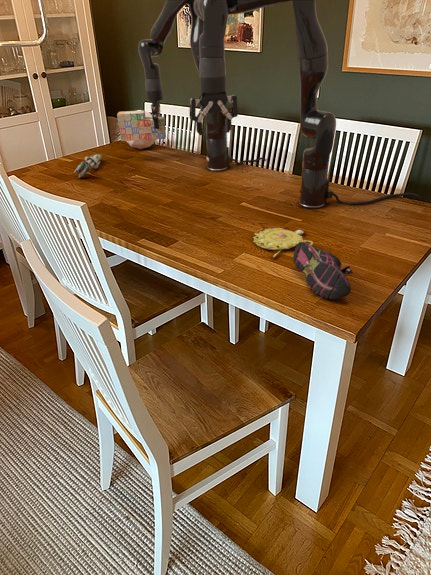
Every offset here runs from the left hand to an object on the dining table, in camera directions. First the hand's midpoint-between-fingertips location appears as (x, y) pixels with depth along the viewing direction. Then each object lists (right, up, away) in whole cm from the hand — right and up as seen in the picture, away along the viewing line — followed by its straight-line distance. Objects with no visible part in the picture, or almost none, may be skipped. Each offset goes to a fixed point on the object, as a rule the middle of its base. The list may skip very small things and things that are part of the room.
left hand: (157, 126), depth 211 cm
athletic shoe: (+58, -75, -91) cm, 131 cm away
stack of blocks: (-7, -5, +3) cm, 9 cm away
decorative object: (+49, -63, -70) cm, 106 cm away
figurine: (-32, -21, -1) cm, 38 cm away
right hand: (+27, -30, -77) cm, 87 cm away
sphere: (-12, -1, +30) cm, 32 cm away
